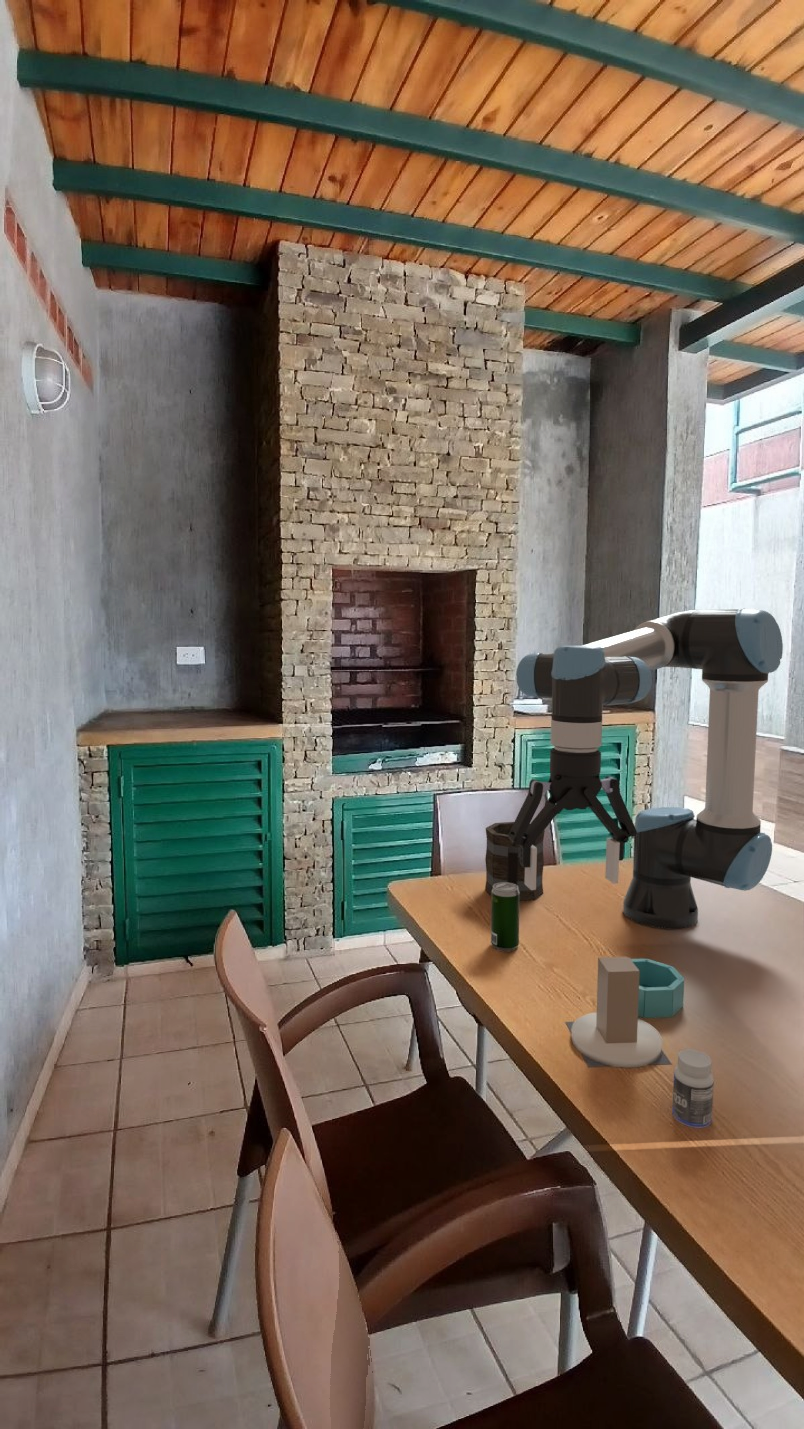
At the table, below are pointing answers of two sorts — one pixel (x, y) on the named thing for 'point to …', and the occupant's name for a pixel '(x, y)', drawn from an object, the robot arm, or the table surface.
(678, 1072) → the pill bottle
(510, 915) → the beer can
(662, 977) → the bowl
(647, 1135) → the table surface
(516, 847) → the mug
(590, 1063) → the mat
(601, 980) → the lid
